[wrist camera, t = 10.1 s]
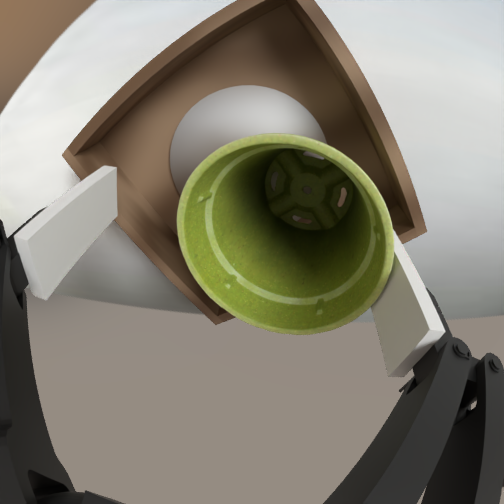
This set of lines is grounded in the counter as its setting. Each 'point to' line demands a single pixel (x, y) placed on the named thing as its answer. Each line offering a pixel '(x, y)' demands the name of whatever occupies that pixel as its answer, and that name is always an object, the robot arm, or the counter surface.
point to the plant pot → (285, 234)
